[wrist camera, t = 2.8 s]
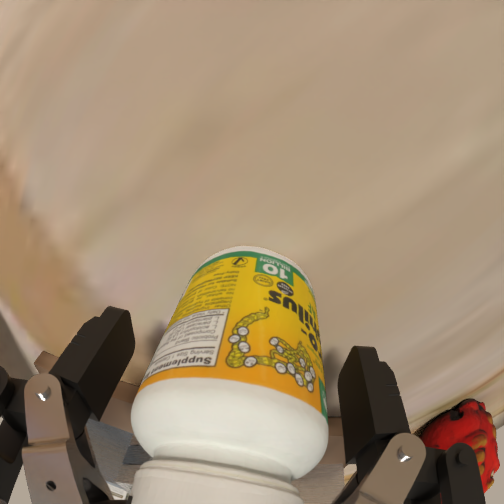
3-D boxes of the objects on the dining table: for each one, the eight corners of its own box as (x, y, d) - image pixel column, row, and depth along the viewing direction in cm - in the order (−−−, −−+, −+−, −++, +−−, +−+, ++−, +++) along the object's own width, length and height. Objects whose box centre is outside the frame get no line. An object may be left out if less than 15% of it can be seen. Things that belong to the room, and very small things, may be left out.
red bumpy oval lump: (483, 415, 17) (515, 540, 3) (419, 448, 19) (435, 575, 6) (482, 382, 14) (530, 545, 1) (403, 425, 17) (422, 592, 4)
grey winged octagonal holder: (361, 445, 16) (366, 506, 11) (324, 480, 20) (324, 525, 15) (45, 379, 17) (17, 424, 12) (78, 429, 21) (60, 466, 16)
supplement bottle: (168, 272, 12) (54, 476, 4) (279, 218, 11) (256, 520, 2) (232, 354, 14) (192, 537, 6) (332, 320, 13) (355, 538, 4)
